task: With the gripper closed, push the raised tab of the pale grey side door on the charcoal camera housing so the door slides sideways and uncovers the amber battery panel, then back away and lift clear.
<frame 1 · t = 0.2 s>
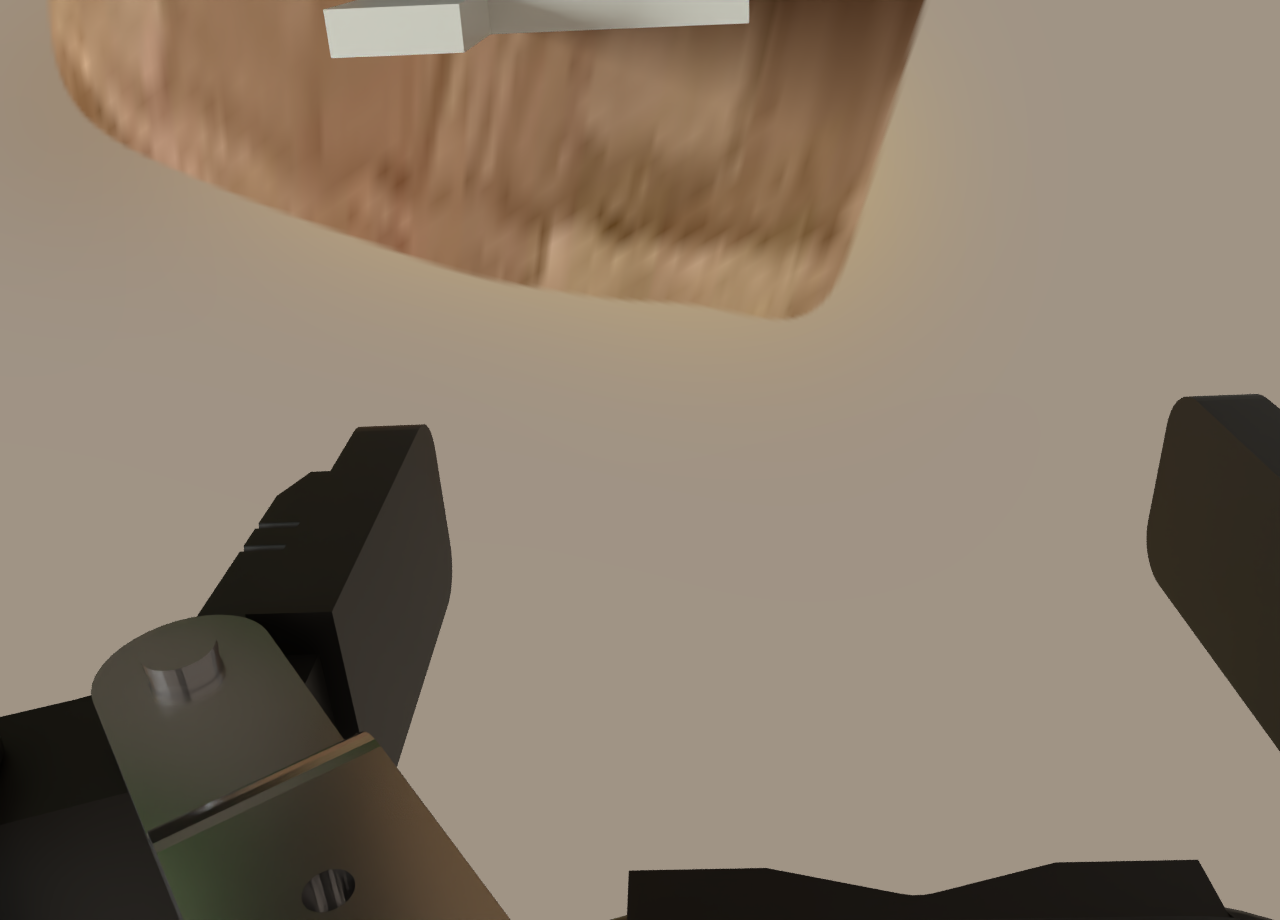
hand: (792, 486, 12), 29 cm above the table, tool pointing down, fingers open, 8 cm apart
side door: (568, 3, 29), point 7 cm above the table, slide at 0.0 cm
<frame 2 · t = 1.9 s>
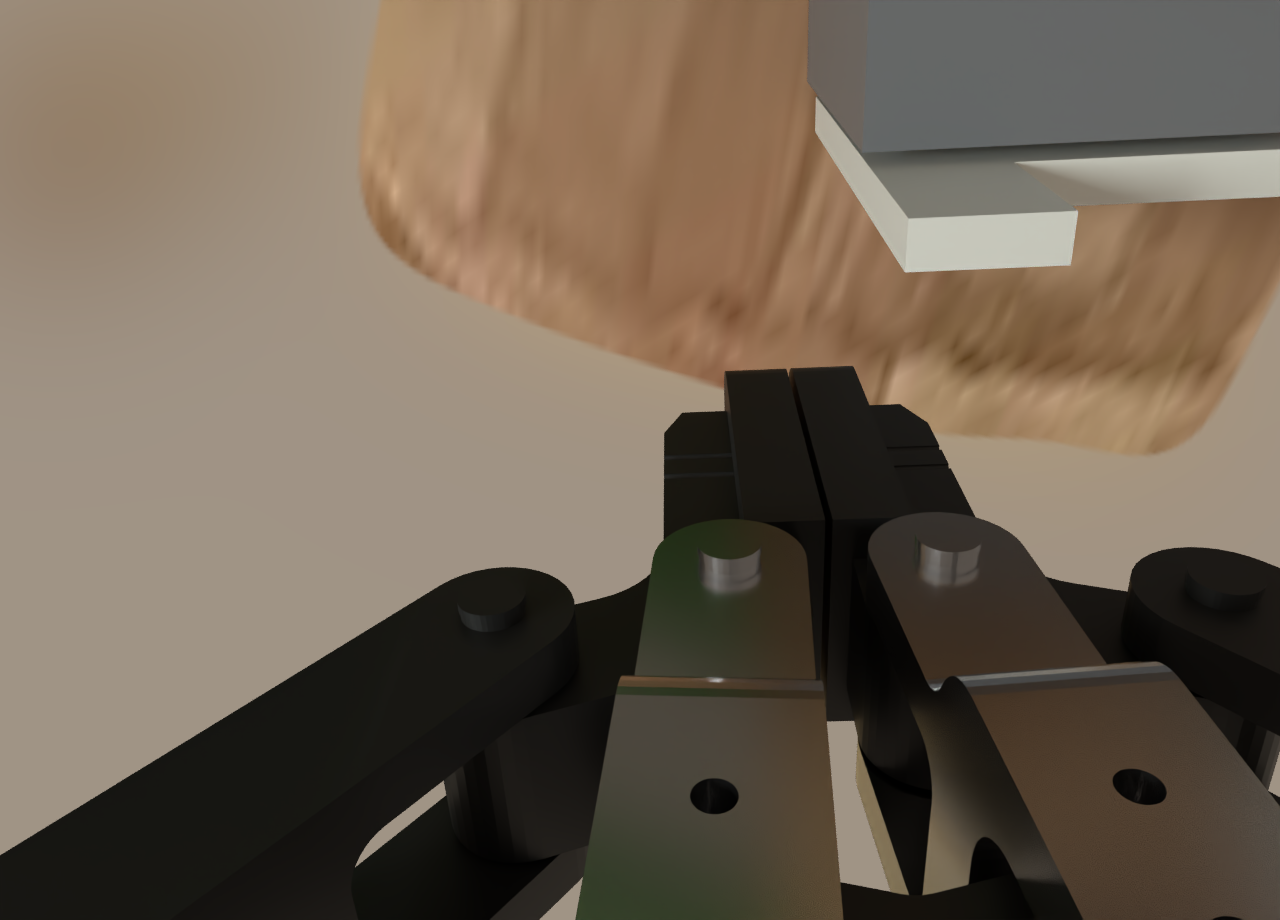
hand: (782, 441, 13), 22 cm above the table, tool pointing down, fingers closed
side door: (1054, 156, 25), point 7 cm above the table, slide at 0.0 cm
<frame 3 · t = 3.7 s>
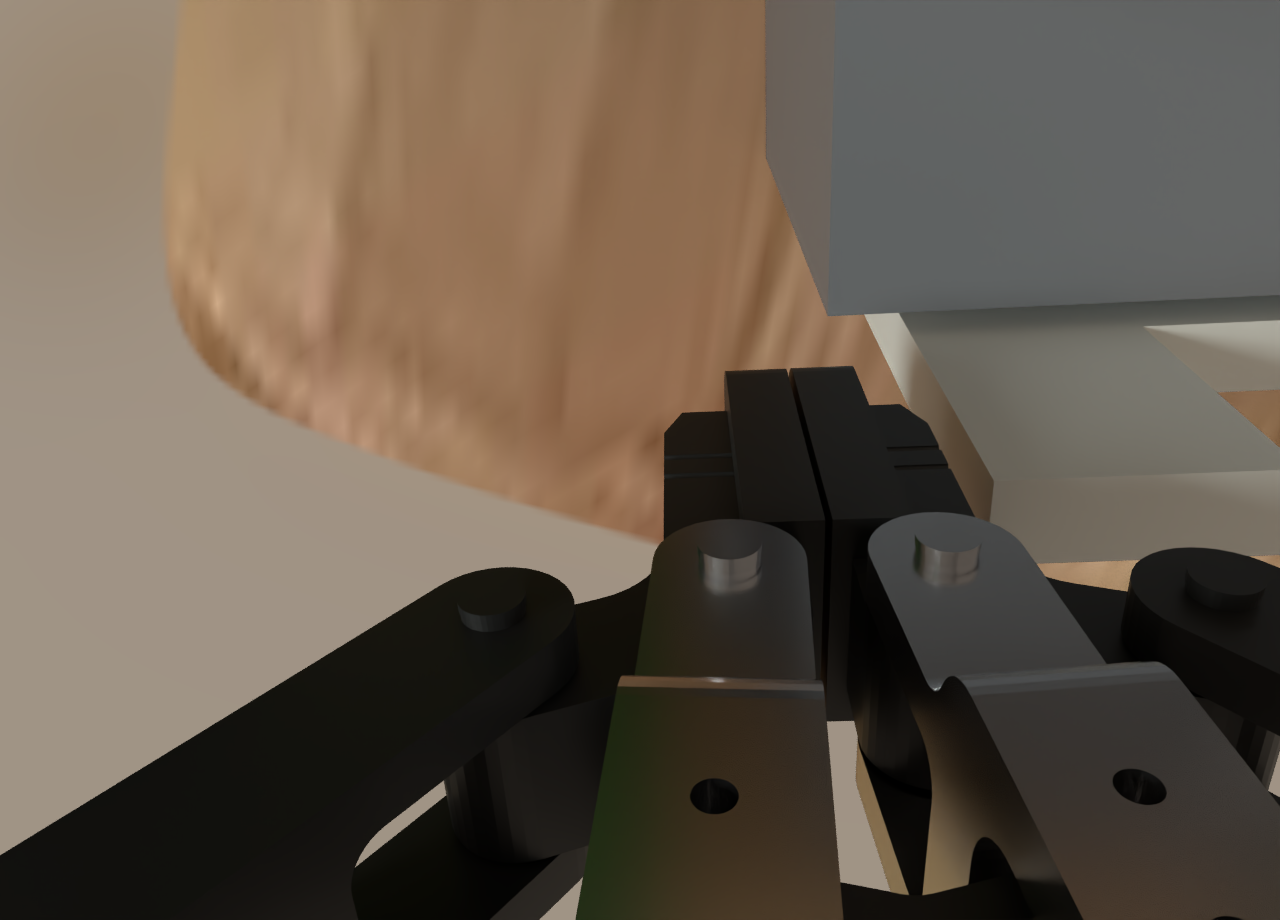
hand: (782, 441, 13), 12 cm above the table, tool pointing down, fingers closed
side door: (1184, 292, 17), point 7 cm above the table, slide at 0.9 cm, touching gripper
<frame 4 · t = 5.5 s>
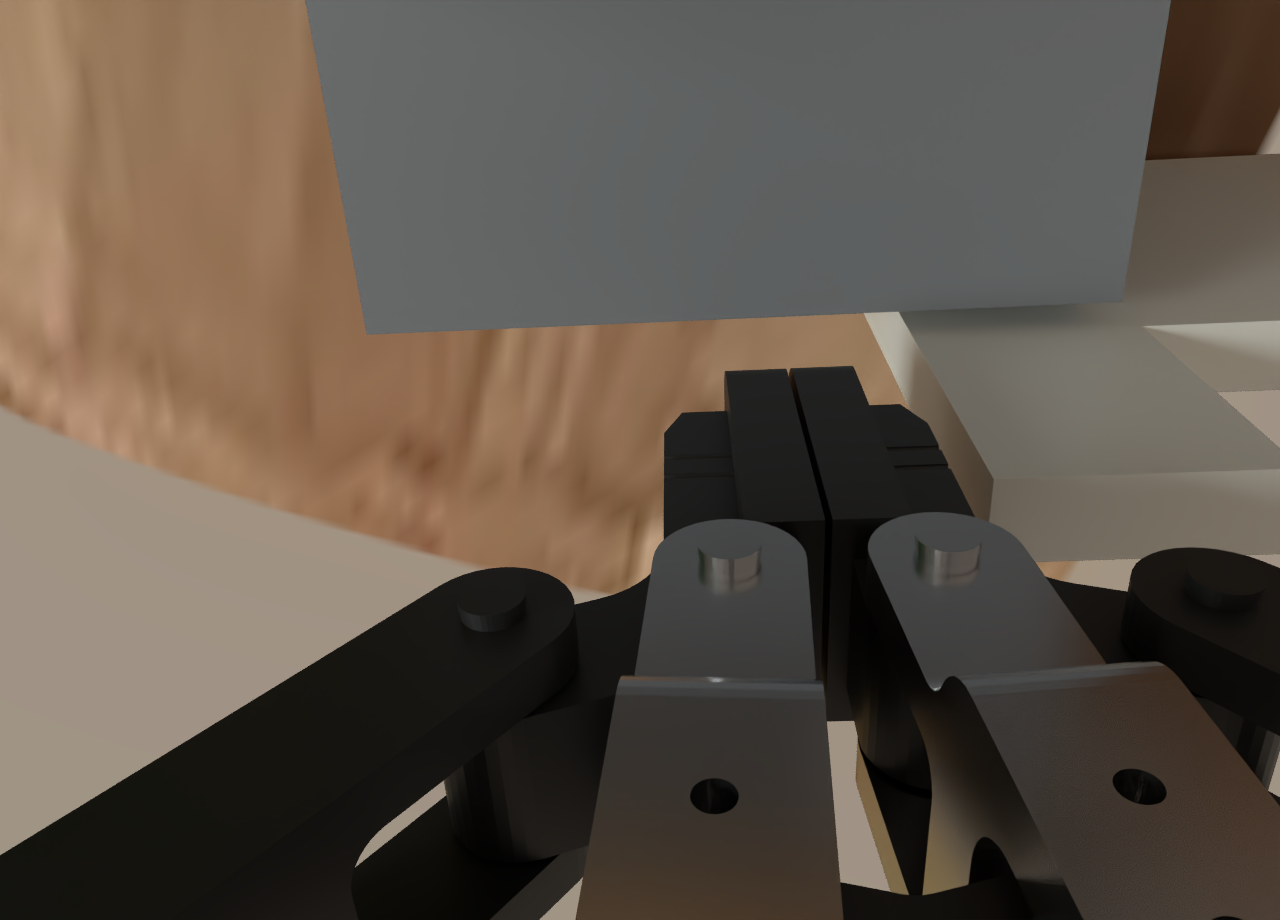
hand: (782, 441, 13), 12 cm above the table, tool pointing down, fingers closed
side door: (1183, 293, 17), point 7 cm above the table, slide at 7.1 cm, touching gripper
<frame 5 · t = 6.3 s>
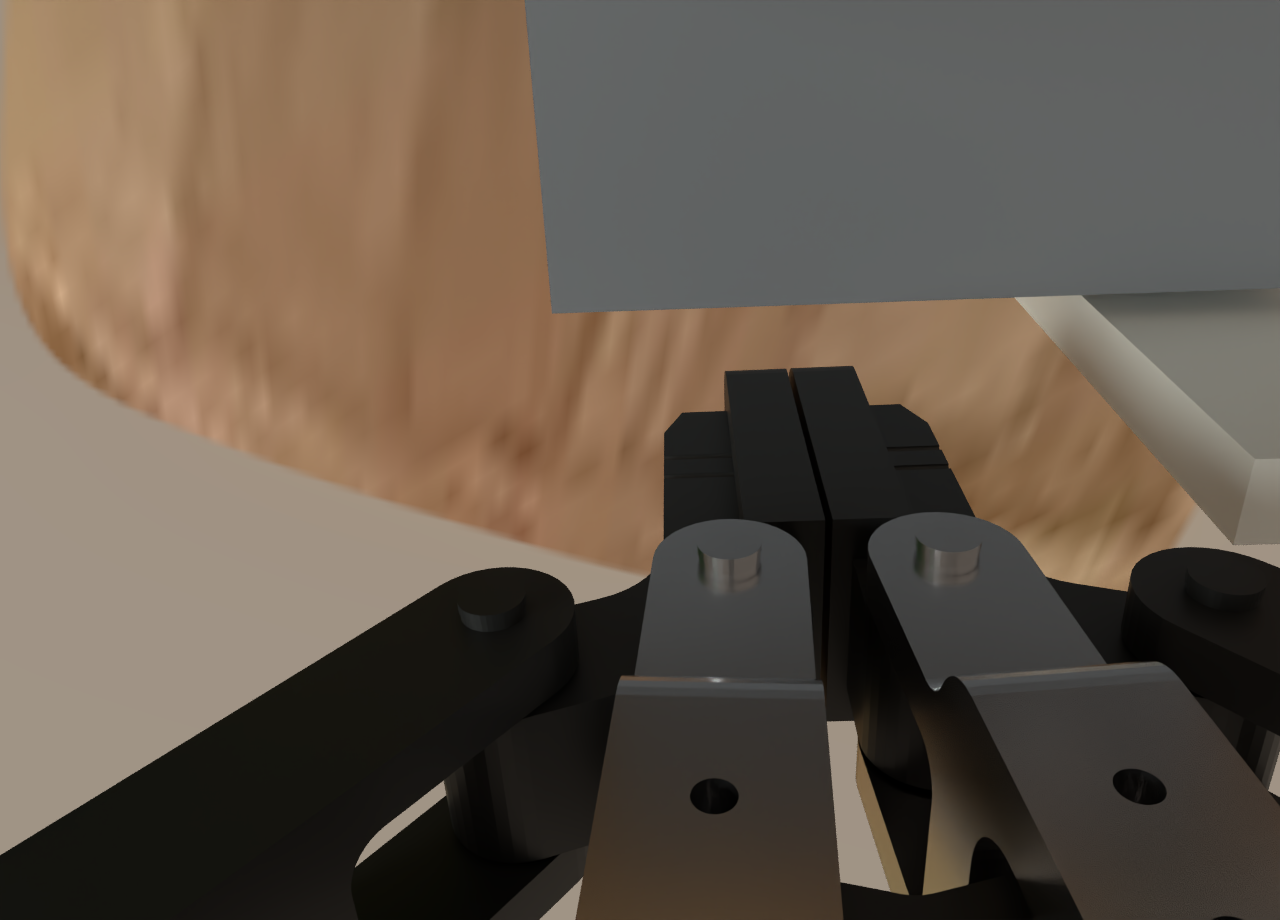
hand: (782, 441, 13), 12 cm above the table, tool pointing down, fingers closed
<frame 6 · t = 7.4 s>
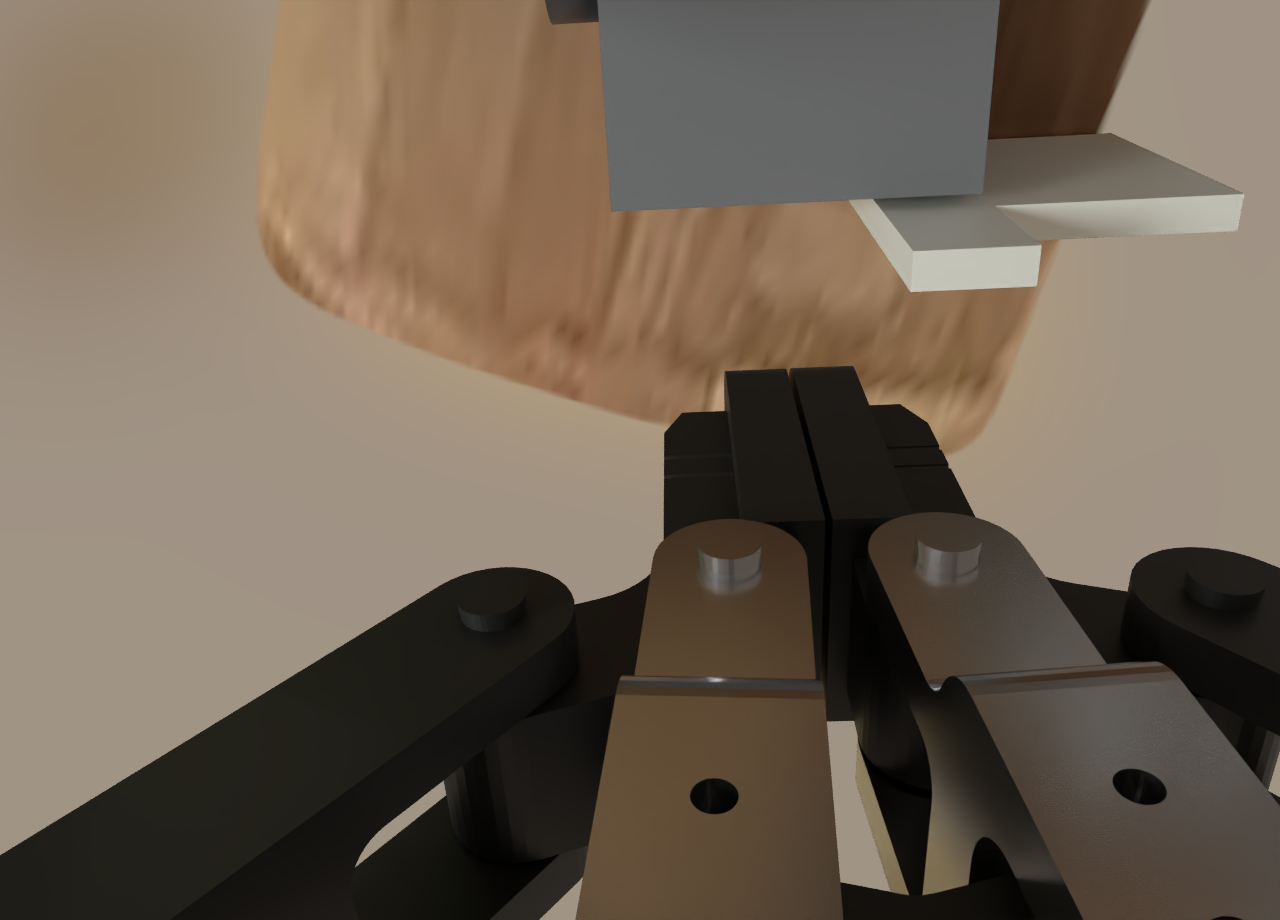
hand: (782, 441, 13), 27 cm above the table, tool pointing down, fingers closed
side door: (1028, 200, 31), point 7 cm above the table, slide at 7.1 cm
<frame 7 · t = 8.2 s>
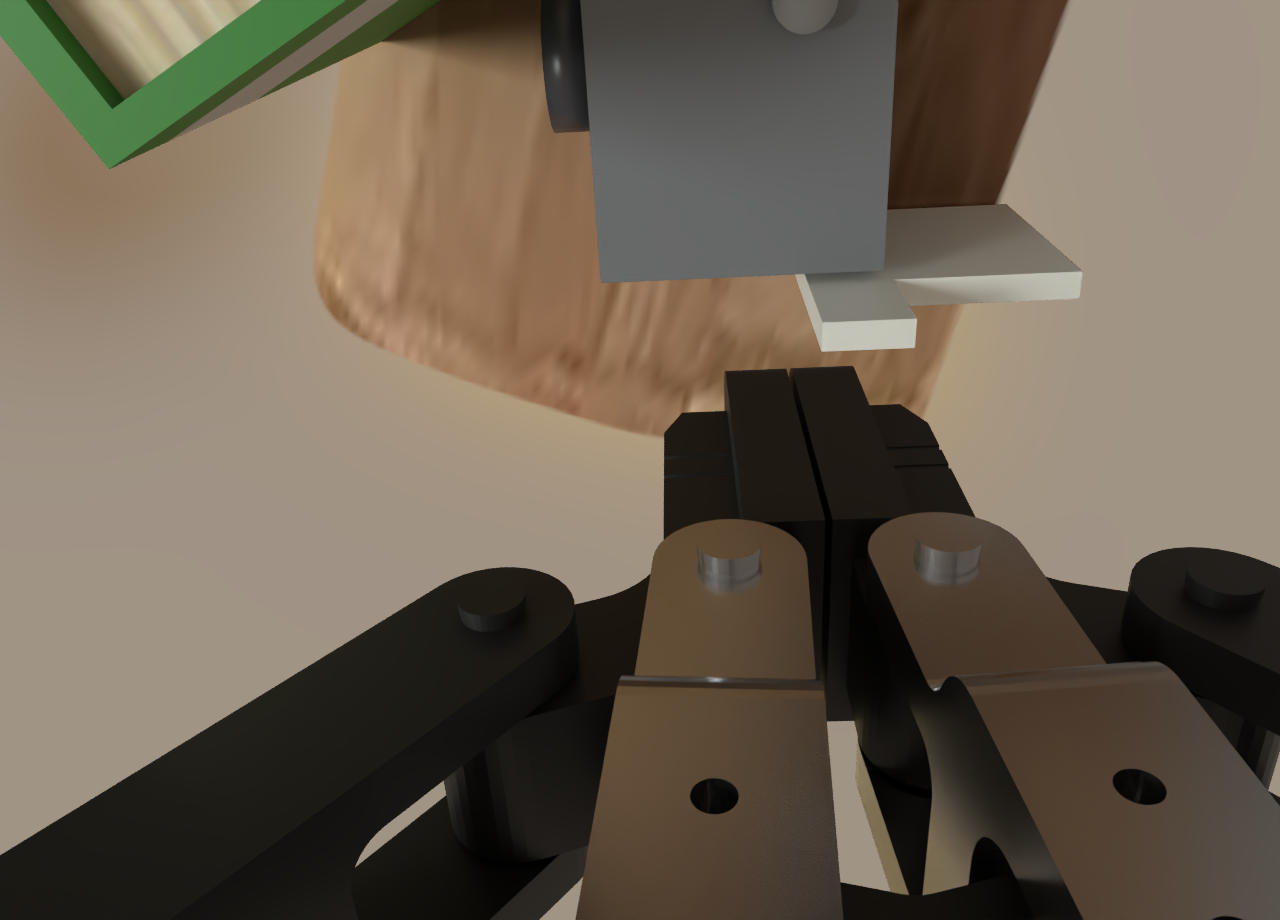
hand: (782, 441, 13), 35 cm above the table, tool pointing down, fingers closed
camera housing: (725, 61, 44), on the table
side door: (926, 268, 40), point 7 cm above the table, slide at 7.1 cm
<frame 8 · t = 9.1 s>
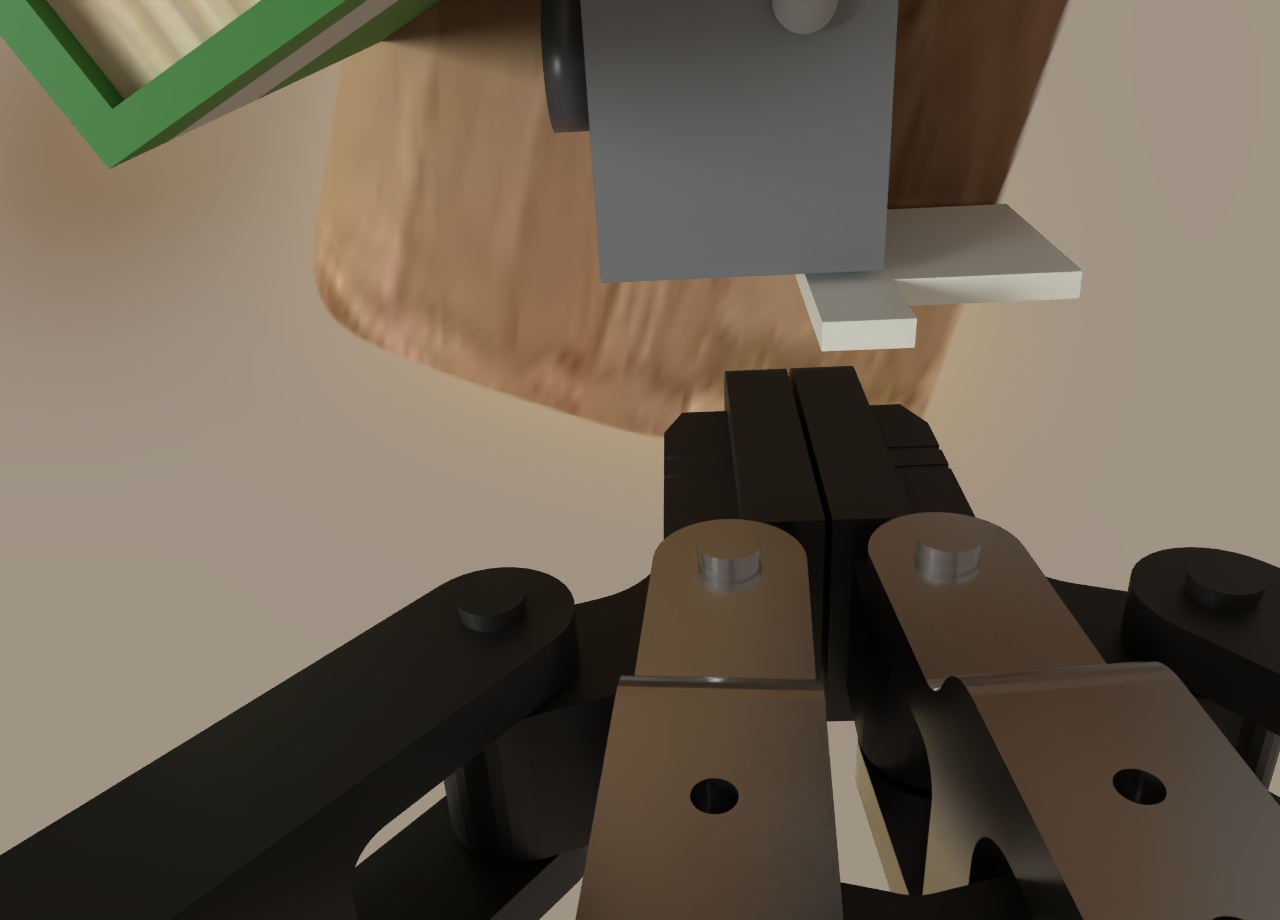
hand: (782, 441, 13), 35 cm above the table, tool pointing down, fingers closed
camera housing: (725, 61, 44), on the table
side door: (926, 268, 40), point 7 cm above the table, slide at 7.1 cm
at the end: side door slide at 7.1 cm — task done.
